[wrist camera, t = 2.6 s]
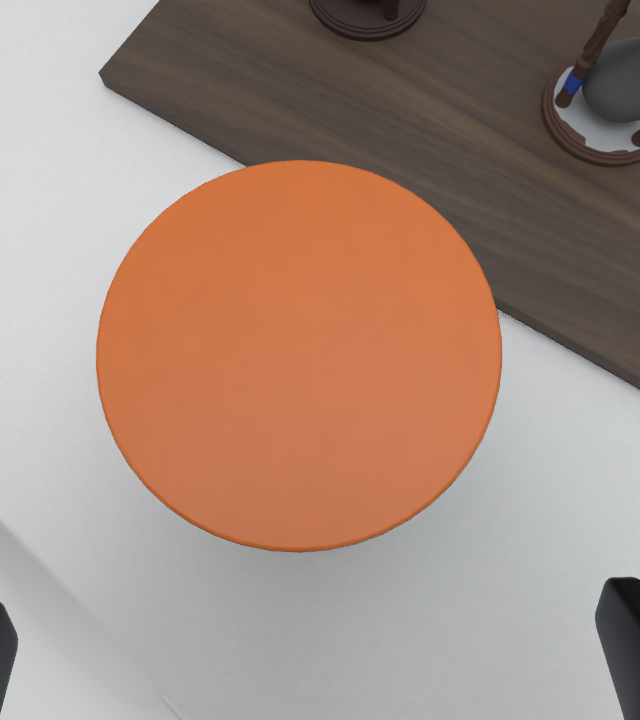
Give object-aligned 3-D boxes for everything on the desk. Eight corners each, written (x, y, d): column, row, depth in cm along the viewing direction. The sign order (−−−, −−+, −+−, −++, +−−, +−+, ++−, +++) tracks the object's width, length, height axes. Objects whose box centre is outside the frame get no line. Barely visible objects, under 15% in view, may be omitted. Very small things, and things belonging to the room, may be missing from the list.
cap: (448, 536, 13) (521, 550, 8) (166, 539, 13) (75, 554, 8) (432, 274, 15) (486, 156, 10) (180, 276, 15) (110, 160, 10)
